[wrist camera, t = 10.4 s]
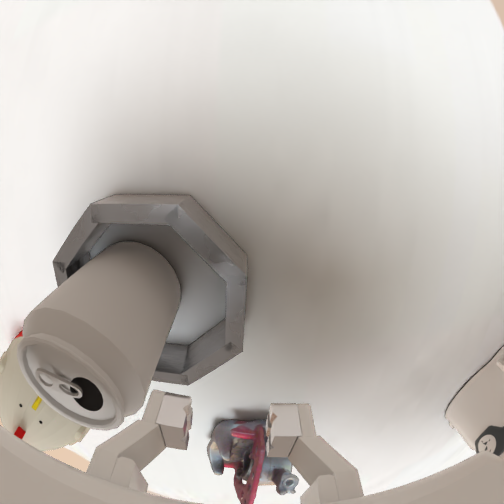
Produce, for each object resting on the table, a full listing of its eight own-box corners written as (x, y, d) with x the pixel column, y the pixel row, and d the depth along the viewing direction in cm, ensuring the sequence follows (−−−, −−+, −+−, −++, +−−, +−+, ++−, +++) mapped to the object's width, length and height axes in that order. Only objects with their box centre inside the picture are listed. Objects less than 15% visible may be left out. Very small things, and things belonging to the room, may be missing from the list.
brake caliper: (193, 415, 23) (271, 508, 14) (274, 383, 30) (347, 449, 22) (184, 458, 26) (240, 528, 18) (250, 431, 33) (305, 486, 25)
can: (164, 336, 22) (122, 454, 11) (90, 296, 21) (13, 389, 9) (199, 266, 20) (153, 393, 9) (112, 220, 18) (-1, 295, 7)
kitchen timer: (122, 389, 25) (79, 502, 11) (85, 421, 28) (53, 499, 14) (27, 307, 21) (-54, 393, 7) (11, 359, 24) (-38, 427, 10)
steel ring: (250, 197, 18) (252, 207, 15) (240, 359, 23) (240, 389, 20) (72, 195, 18) (45, 204, 14) (97, 342, 22) (82, 365, 19)
